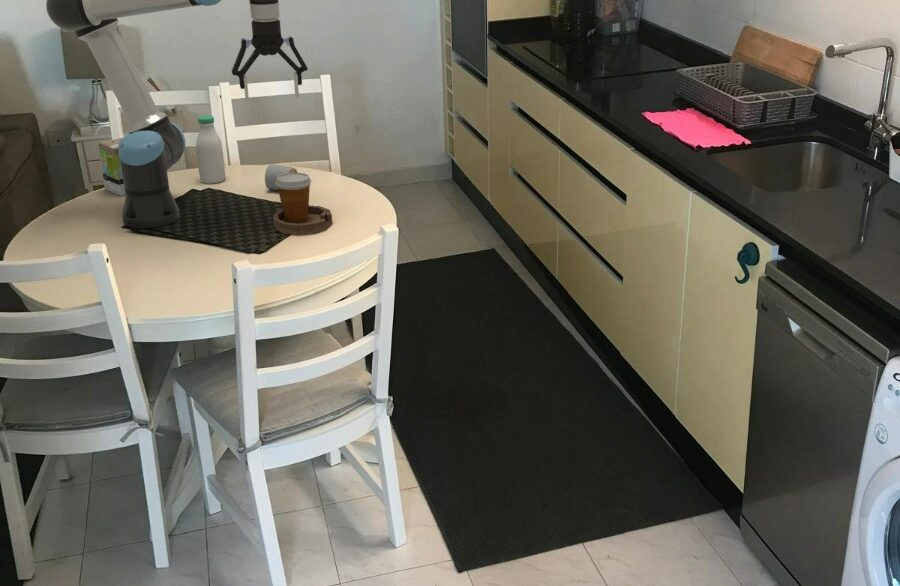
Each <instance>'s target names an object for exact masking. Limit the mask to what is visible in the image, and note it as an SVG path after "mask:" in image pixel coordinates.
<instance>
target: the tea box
mask: <svg viewBox="0 0 900 586" xmlns="http://www.w3.org/2000/svg"><path fill="white" fill-rule="evenodd" d="M122 138H123V137H118V138H115V139H110V140H104V141H101V142H98V150H99V151H98V152H99V156H100V157H99V158H100V164H101V171H102V173H101V174H102V177H103V185H104V190H107V191H109V192H111V193H113V194H116V195H119V196H121V197H122V196H126V194H125V187H124V181H123V175H122V169H121V163H120V158H119V154H118V153H119V147H118V145H119V141H120V140H121V139H122Z"/></svg>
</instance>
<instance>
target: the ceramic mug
mask: <svg viewBox="0 0 900 586" xmlns="http://www.w3.org/2000/svg"><path fill="white" fill-rule="evenodd" d="M286 173H299V172H298V170H297V169H296V168H295V167H292V166H287V165H282V164H277V163H276V164H275V163H270V164H268V166H267V167H266V170H265V173H264V183H265V186H266V189H268V190H271V191H272V190H273V191H279V190H278V187H277V185H276V181H277V177H278V176H280V175H282V174H286Z"/></svg>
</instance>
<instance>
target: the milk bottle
mask: <svg viewBox="0 0 900 586" xmlns="http://www.w3.org/2000/svg"><path fill="white" fill-rule="evenodd" d="M197 121H198V125H199V130H198V131H199V132H198V135H197V136H196V137H197V138H196V143H195V146H196V148H195V149H196V157H197V166H198V174H199V181H200V182H201V183H202V184H210V185H212V184H219V183H221V182H225V180H226V170H225V169H226V168H225V167H226V166H225V159H224V152H223V146H222V145H223V143H222V141H221V138H220V136H219V134H218V132H217V131H216V127H215V126H214V125H215V118H214V116H213V115H209V114H207V115H205V114H204V115H200V116H199V117H198V118H197Z"/></svg>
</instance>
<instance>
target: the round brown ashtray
mask: <svg viewBox="0 0 900 586" xmlns="http://www.w3.org/2000/svg"><path fill="white" fill-rule="evenodd" d="M272 218H273V226H275V227H274V230H275V229H276V230H278V231H277V232H279V231H280V232H279V233H281V232H282V233H281V234H283V233H284V235H293V236H307V235H315V234H318V233H319V234H320V233H322V232H324V231H327V230H328V229H329V228H331V226H332V225H333V216H332V212H331V210H330V209H329V208H327V207H323V206H320V205H311V204H309V207H308V219H307V220H306V221H304V222H300V223H289V222H286V221H285V219H284V214H283V209H282V208H281V209H278V211H276V212H275V213H274V214H273V215H272ZM276 230H275V231H276Z"/></svg>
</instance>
